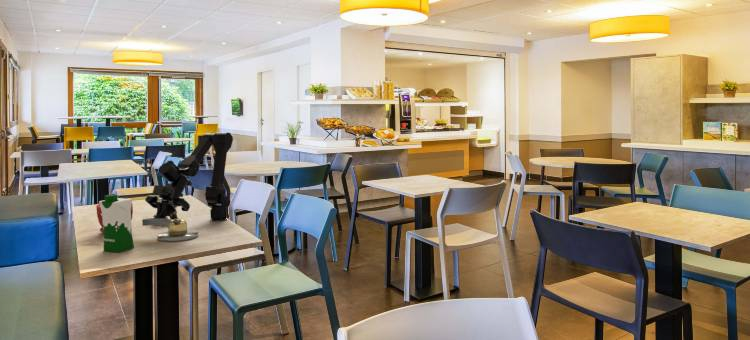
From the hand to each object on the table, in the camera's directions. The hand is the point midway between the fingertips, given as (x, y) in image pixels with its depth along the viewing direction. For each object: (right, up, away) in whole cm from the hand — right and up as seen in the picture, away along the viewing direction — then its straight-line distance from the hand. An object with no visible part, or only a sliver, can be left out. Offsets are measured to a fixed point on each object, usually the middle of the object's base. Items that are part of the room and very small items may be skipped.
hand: (157, 221), depth 207 cm
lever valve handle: (+3, -5, 0) cm, 6 cm away
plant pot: (-20, -6, +9) cm, 23 cm away
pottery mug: (-6, -4, +26) cm, 27 cm away
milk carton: (-7, -9, -16) cm, 20 cm away
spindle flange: (+8, -6, +1) cm, 10 cm away
